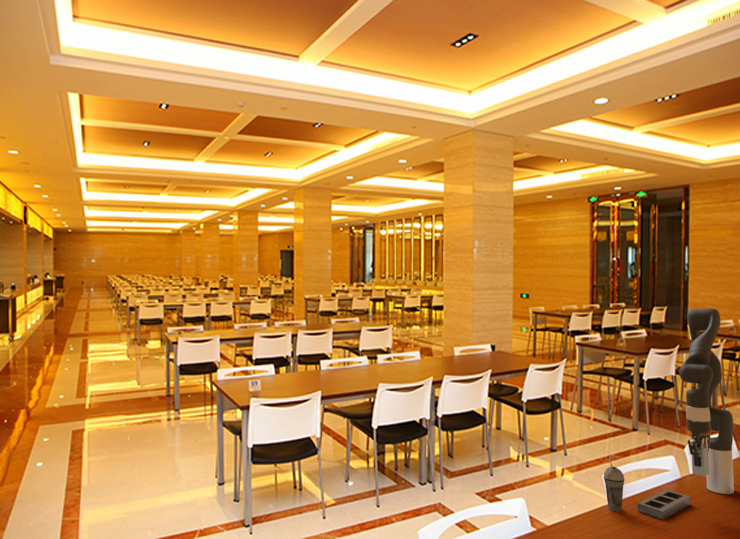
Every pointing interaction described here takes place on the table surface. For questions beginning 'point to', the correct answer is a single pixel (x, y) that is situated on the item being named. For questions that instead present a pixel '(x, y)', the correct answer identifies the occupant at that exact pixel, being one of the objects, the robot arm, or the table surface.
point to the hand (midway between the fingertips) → (700, 464)
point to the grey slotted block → (663, 504)
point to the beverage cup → (614, 487)
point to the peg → (704, 463)
